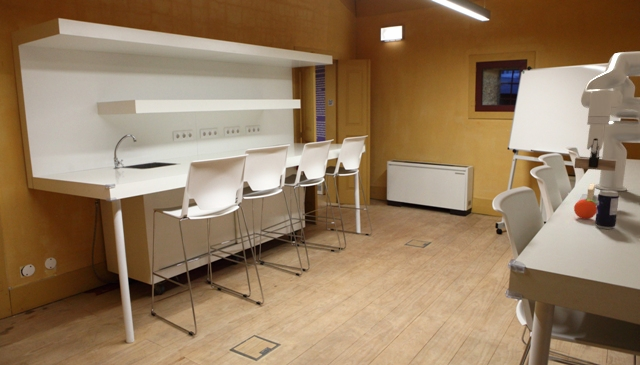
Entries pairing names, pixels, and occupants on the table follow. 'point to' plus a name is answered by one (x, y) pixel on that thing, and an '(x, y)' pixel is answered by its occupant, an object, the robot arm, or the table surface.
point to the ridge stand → (590, 194)
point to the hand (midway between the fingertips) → (593, 166)
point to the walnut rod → (602, 164)
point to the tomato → (585, 208)
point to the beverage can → (607, 209)
